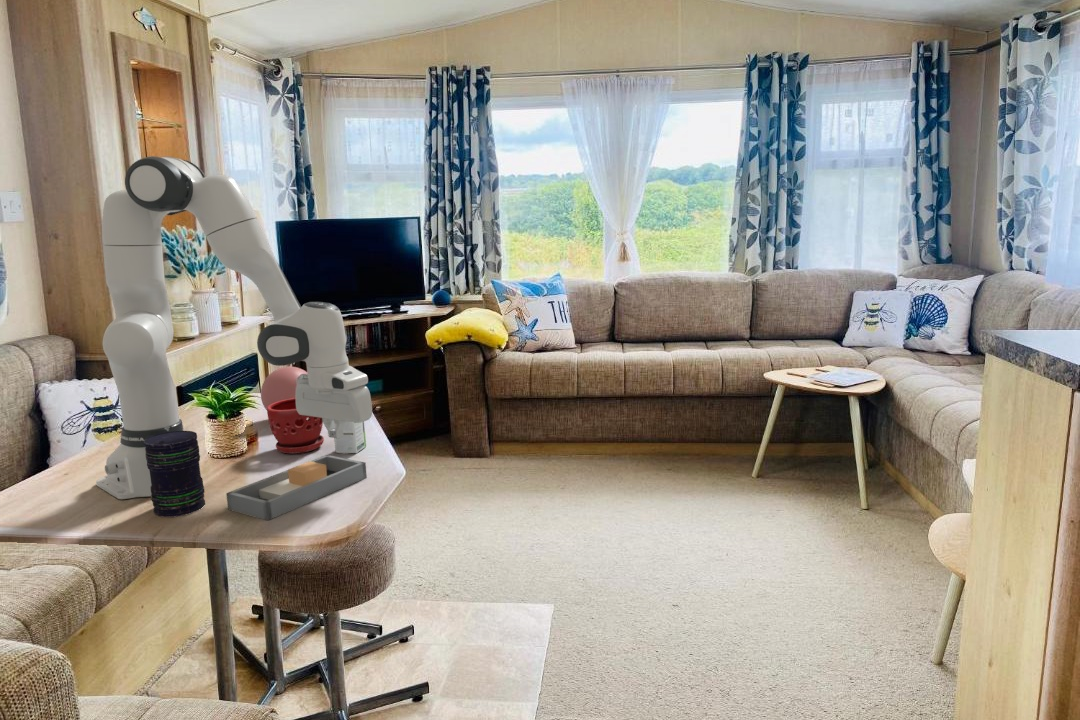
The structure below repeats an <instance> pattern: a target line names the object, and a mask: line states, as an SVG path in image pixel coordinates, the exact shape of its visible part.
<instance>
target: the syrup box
mask: <svg viewBox="0 0 1080 720" xmlns="http://www.w3.org/2000/svg"><path fill="white" fill-rule="evenodd" d="M333 423H334V425H335V427H336V425H337V424H335V422H334V420H333ZM343 435H344V436H343V437H342V438H340V439H338V438H333V439H334V440H333V441H334V448H335V449H334V450H335V453H337V454H345V453H357V454H358V453H359V452H360V451H361V450H363V449H364V448H366V447H367V443H366V442H367V441H366V431H365V421H364V422H362V423H356V422H349V421H346V424H345V426H344V429H343Z"/></svg>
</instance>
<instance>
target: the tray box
mask: <svg viewBox="0 0 1080 720" xmlns="http://www.w3.org/2000/svg"><path fill="white" fill-rule="evenodd" d="M310 461H311V462H316V463H320V464H325V465H326V471H327V476H326V477H324V478H322V479H319V480H317V481H314V482H312V483H309V484H307V485H304V486H300V485H296V484H291V483H289V475H288V469H286V470H284V471H281V472H279V473H276V474H273V475H270V476H268V477H265V478H263V479H260V480H257V481H255V482H252V483H250V484H246V485H245V486H241V487H239V488H236V489H234V490H231V491H228V492H226V494H225V495H226V502H227V509H230V510H229V511H231V510H233V511H232V512H235V511H236V513H239V514H242V515H246V516H250V517H254V518H257V519H260V518H261V520H264V519H265V521H270V520H273V519H275V518H277V517H279V515H280V516H282V515H284V514H287V513H289V512H291V511H293V510H296V509H298V508H299V507H302V506H305V505H306V504H309V503H312V502H314V501H316V500H318V499H321V498H323V497H325V496H327V495H330V494H332V493H334V492H337V491H339V490H341V489H344V488H347V487H348V486H350V485H353V484H355V483H357V482H359V481H362V480H365V479H366V478H367V476H368V475H367V464H366V462H365V461H360V460H357V459H356V460H355V459H349V458H345V457H340V456H334V455H329V454H326V455H324V456H321V457H317V458H316V459H313V460H310ZM281 514H282V515H281ZM274 517H275V518H274ZM272 518H273V519H272Z"/></svg>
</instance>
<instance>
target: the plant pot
mask: <svg viewBox="0 0 1080 720" xmlns="http://www.w3.org/2000/svg"><path fill="white" fill-rule="evenodd" d="M266 413H267V419H268V424H269V426H270V431H271V433H272V436H273V437H274V438H275V440H276V443H275V448H276V449H277V451H279V452H280V453H285V454H294V455H296V454H297V453H298V454H302V453H307V452H308V453H309V452H312V451H315V450H316V449H319V448H320V447H321V446H322V445H323V443H324V440H325V438H324V436H323V435H321V433H322V430H323V425H324V423H323V420H322V418H320V417H313V416H306V415H300V414H299V413H298V412H297V410H296V398H292V399H286V400H282V401H278V402H275V403H273V404H271V405H269V406H268V407H267V410H266ZM299 418H300V419H299Z"/></svg>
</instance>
